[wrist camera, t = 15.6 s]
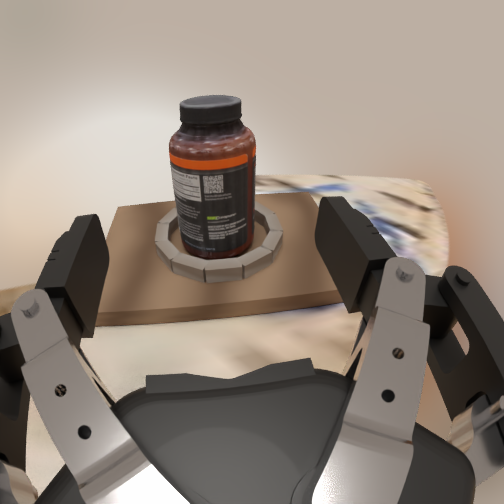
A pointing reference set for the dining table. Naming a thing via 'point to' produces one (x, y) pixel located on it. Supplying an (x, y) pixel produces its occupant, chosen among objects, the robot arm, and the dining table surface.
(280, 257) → the walnut board
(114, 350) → the dining table surface
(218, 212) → the supplement bottle
